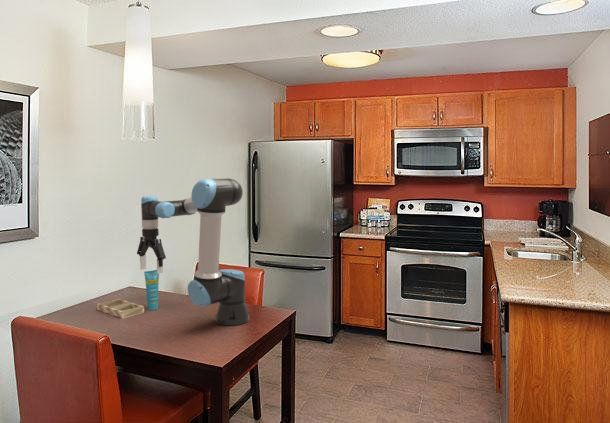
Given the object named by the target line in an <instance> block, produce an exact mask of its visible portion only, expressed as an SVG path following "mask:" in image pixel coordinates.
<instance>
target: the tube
mask: <svg viewBox="0 0 610 423" xmlns="http://www.w3.org/2000/svg"><path fill="white" fill-rule="evenodd" d="M143 274H144V279H145V281H144V282H145V289H146V304H147V310H148V311H149V310H150V311H152V310H153V311H154V310H158V309H159V283H160V282H159V281H160V273H159V274H157V269H154V270H146V271H144V272H143Z"/></svg>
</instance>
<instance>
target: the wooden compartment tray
mask: <svg viewBox="0 0 610 423" xmlns="http://www.w3.org/2000/svg"><path fill="white" fill-rule="evenodd" d="M96 307H97V308H96V309H97V311H99V312H102V313H105V314H108V315H110V316H114V317H116V318H118V319H121V320H122V319H126V318H129V317H130V318H131V317H133V316H137V315H140V314H143V313H145V306H144V305H142V304H141V305H140V304H138V303H134V302H131V301H127V300H124V299H122V298H116V299H112V300H107V301H103V302H99V303H97V305H96Z"/></svg>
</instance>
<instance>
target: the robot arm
mask: <svg viewBox="0 0 610 423" xmlns="http://www.w3.org/2000/svg"><path fill="white" fill-rule="evenodd" d="M243 194H244V193H243V187H242V185H241V184H240V183H239V182H238V181H237V180H235V179H233V178H227V177H226V178H207V179H205V178H204V179H201V180H200V179H199V180H198V181H197V182H196V183H195V184H194V185H193V187H192V189H191V197H188V198H184V199H181V200H178V199H177V200H167V201H166V200H165V201H159V200H158V198H159V197H157V196H156V195H147V196H145V195H144V196H142V197H141V202H140V206H141V207H140V209H141V211H140V212H141V228H142V229H141V235H142V236H140V239H139V244H138V246H137V247H138V248H137V251H136V254H137V255H139V263H140V266H139V267H140V271H141V270H147V256H146V253H147V251H148V250H149V248H150V249H152V250H153V252H154V254H155V257H156V270H157V274H159V275H160V274H163V272H164V271H163V270H164V269H163V266H164V265H163V264H164V259H167V256H166V253H165V250H164V248H163V243H162V239H161V238H157V237H159V235H160V234H159V231H160V230H159V218H161V219H170V218H173V217H181V216H191V215H195V214H196V213H198V214H199V215H200V218H199V220H200V221H199V237H198V238H199V240H198V261H197V262H198V263H197V266H198V267H197V270H196V271H195V272H194V273H193V280H190V281H189V283H188V284H187V294H188V296H189V299H190V300H191V303H193V304H194V305H195V306H196V307H198V308H199V307H201V308H202V307H206V306H207V307H208V306H210V305H214V304H217V303H218V307H217V311H216V314H215V323H217V324H218V325H221V326H239V325H243V324H246V323H247V322H249V321H250V312H248V308H247V305H246V279H245V273H244V272H243V271H242V270H238V269H229V268H227V269H225V268H224V269H220V268H219V267H220V252H221V251H220V249H221V248H220V247H221V229H222V216H223V215H224V214H225V213H226V209H227V208H226V207H230V206H234V205H236V204H238V203H239V202H240V201H241V199H242V197H243Z"/></svg>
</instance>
